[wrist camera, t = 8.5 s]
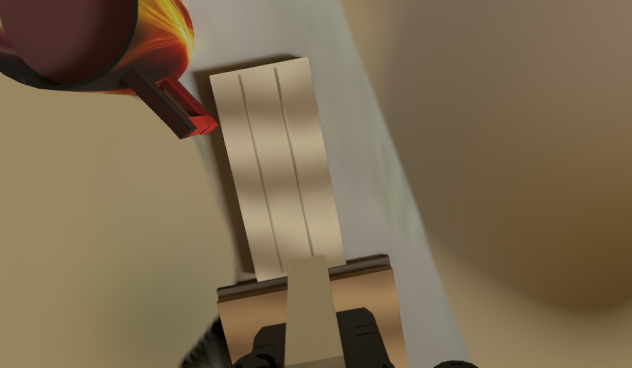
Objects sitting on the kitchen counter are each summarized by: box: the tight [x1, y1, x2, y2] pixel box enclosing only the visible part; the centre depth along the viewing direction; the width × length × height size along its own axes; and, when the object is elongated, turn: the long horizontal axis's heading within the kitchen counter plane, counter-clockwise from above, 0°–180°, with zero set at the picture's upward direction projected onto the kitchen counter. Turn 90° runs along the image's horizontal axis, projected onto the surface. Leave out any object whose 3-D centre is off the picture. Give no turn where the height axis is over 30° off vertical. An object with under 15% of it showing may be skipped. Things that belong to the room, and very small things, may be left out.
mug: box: [0, 0, 219, 139], centre depth 28 cm, size 10×14×12 cm
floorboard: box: [217, 255, 408, 368], centre depth 38 cm, size 11×16×2 cm
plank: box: [209, 57, 346, 282], centre depth 35 cm, size 18×8×2 cm, turn 11°
